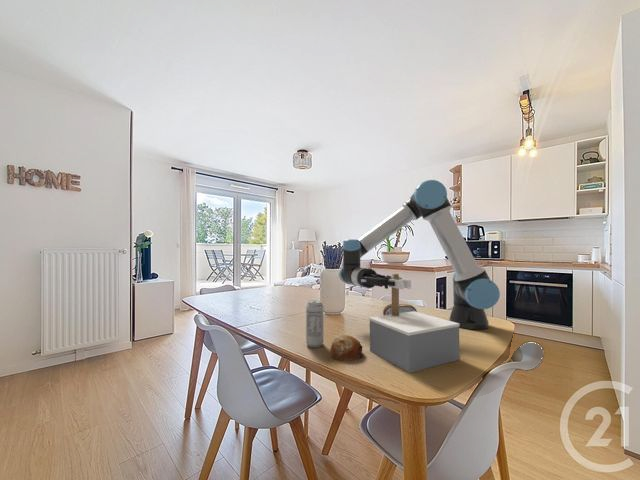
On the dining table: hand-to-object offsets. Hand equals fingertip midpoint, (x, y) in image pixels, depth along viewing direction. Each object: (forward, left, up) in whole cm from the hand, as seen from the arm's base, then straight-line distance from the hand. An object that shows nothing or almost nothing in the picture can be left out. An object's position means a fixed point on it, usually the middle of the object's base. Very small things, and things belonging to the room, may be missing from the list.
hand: (406, 284), depth 91 cm
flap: (0, +2, -12) cm, 12 cm away
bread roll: (+18, -7, -22) cm, 30 cm away
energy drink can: (+24, -19, -22) cm, 38 cm away
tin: (-22, -27, -22) cm, 42 cm away
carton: (0, +3, -22) cm, 22 cm away
